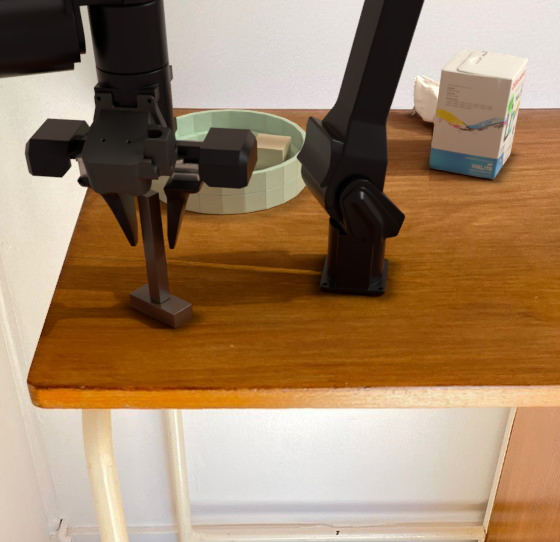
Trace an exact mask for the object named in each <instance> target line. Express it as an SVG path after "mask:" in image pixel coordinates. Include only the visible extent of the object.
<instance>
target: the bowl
mask: <svg viewBox="0 0 560 542" xmlns="http://www.w3.org/2000/svg"><path fill="white" fill-rule="evenodd" d="M175 117H176V118H177V131H176V133H175V135H176V139H178V140H196V141H204V139H205V137H206V135H207V133H208V131H209V129H210V127H215V128H233V129H250V131H251V132H252V133H253V134H254V136H255V137H256V136H257V135H258V134H269V135H279V136H289V137H291V159H289V160H287V161H285V162H283V163H282V164H279V165H276V166H273V167H270V168H267V169H264V170H259V171H253V174H252V176H251V179H250V181H249V184H248V186H247V187H244V188H241V189H234V188H218V187H209V186H208V185H206V184H205V183H204V184H203V186H202V188H201V190H200V191H199V192H198V193H195V194H190V195H189V198H188V201H187V205H186V209H185V211H187V212H192V213H193V212H194V213H198V214H208V215H209V214H210V215H239V214H248V213H253V212H259V211H265V210H268V209H271V208H275V207H277V206H281V205H283V204H285V203H287V202H289V201H291V200H292V199H294V198H295V197H298V195H299V194H300V193H301V192H303V190H304V189H305V188H306V187H307V186H306V185H305V183H304V181H303V179H302V177H301V165H302V164H301V163H300V162H299V161H298V159H297V158H296V157H297V155H298V153H299V152H300V150H301V149H302V146H303V144H304V141H305V135H306V130H304V129H303V128H302V127H301V126H299V125H298V123H296V122H293V120H290V119H288V118H286V117H283V116H279V115H277V114H273V113H269V112H265V111H264V112H263V111H259V110H251V109H238V108H237V109H236V108H235V109H234V108H226V109H208V110H202V111H194V112H190V113H186V114H182V115H179V116H175ZM169 177H170V176H160V177H159V179H158V180H152V185H151V188H150V189H151V190H154V191H156V192H159V198H160V202H163V203H164V204H166V205H167V197H166V195H165V192H164V190H163V188H164V186H165V184H166V182H167V180H168V179H169Z"/></svg>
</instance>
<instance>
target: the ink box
mask: <svg viewBox="0 0 560 542" xmlns="http://www.w3.org/2000/svg"><path fill="white" fill-rule="evenodd" d="M528 63H529V57H525V56H524V57H523V56H519V55H513V54H507V53H499V52H494V51H488V50H482V49H475V50H471V49H464V48H460V49H459V50H458V51H457V53H456V54H455V55H453V57H452V58H451V59H450V60H448V62H447V63H446V64H445V65H444V66H443V67H442V69H441V70H440V79H439V83H440V86H439V93H438V101H437V108H436V116H435V123H433V131H432V139H431V146H430V154H429V160H428V164H429V169H434V170H438V171H444V172H449V173H455V174H461V175H467V176H471V177H477V178H483V179H484V178H485V179H489V180H495V179H496V177H497V176H498V174H499V172H500V171H501V169H502V168H503V166H504V165H505V163H506V162H507V160H509V159H508V158H509V157H510V156H511V152H512V147H513V142H514V137H515V130H516V126H517V121H518V115H519V109H520V105H521V99H522V95H523V94H522V93H523V88H524V84H525V78H526V74H527V70H528V69H527V68H528Z"/></svg>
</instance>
